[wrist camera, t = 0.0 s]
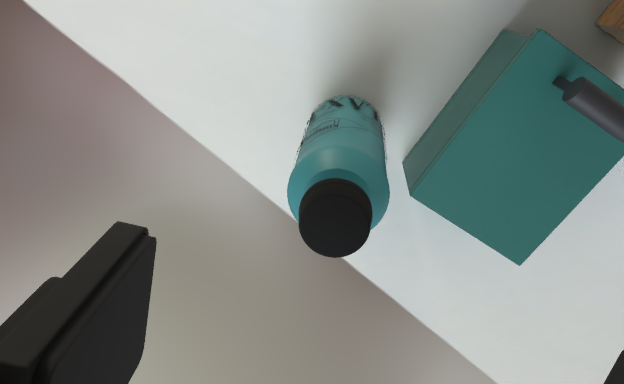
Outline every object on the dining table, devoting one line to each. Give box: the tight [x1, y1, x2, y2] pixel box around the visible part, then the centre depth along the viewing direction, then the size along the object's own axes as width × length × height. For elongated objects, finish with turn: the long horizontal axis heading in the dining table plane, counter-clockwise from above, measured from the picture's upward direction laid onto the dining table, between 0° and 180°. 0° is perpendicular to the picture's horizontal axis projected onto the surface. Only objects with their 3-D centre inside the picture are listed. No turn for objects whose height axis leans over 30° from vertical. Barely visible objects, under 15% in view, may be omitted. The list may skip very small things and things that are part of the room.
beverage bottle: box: [287, 95, 390, 258], centre depth 37 cm, size 6×7×20 cm
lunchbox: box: [402, 29, 529, 191], centre depth 43 cm, size 14×11×7 cm
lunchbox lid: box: [409, 28, 624, 266], centre depth 37 cm, size 14×11×5 cm
